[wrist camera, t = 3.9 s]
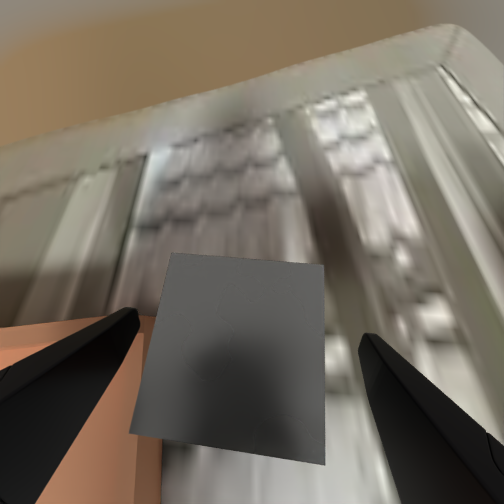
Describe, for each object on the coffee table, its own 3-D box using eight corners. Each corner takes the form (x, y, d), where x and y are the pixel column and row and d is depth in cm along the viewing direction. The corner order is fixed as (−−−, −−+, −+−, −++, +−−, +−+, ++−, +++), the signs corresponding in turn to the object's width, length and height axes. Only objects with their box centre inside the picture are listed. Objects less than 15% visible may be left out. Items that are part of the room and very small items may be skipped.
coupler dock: (159, 538, 12) (93, 668, 8) (-111, 563, 13) (-335, 702, 8) (165, 318, 16) (125, 313, 12) (-39, 341, 17) (-158, 346, 12)
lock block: (287, 377, 15) (325, 465, 5) (214, 368, 15) (128, 433, 6) (290, 302, 16) (324, 265, 7) (224, 295, 17) (171, 252, 7)
